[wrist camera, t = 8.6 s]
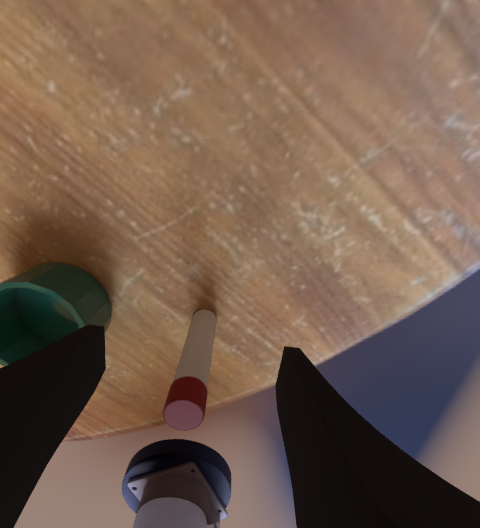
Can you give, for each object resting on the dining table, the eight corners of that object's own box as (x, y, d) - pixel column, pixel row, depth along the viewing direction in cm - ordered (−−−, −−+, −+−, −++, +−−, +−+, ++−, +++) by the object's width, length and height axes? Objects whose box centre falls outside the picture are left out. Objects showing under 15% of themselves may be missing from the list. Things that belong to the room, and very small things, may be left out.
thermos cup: (128, 328, 21) (108, 358, 18) (52, 356, 22) (19, 390, 18) (78, 247, 19) (44, 264, 15) (-4, 283, 20) (-53, 306, 16)
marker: (221, 325, 21) (210, 424, 13) (198, 333, 21) (174, 436, 13) (211, 304, 20) (193, 394, 12) (187, 313, 20) (155, 406, 12)
